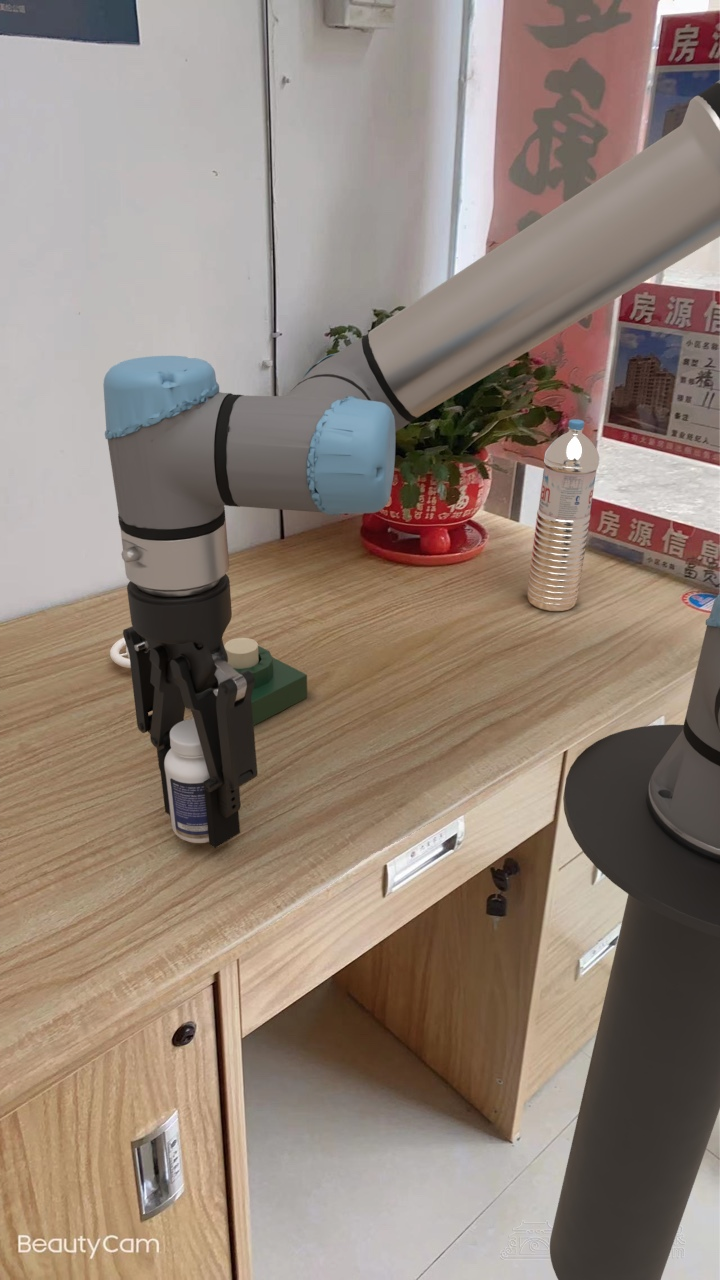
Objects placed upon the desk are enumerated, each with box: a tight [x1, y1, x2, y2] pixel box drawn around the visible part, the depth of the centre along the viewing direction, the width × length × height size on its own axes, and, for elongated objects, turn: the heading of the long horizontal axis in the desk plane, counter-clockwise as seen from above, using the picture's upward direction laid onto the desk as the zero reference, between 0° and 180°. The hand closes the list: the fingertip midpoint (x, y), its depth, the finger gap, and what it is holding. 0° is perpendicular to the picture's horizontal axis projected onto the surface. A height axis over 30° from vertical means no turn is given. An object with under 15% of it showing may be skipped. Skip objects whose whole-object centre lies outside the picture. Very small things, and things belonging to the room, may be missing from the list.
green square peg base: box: [196, 645, 308, 727], centre depth 97 cm, size 10×10×5 cm
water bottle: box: [526, 418, 600, 612], centre depth 116 cm, size 7×7×25 cm
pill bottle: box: [164, 717, 210, 844], centre depth 74 cm, size 5×5×10 cm
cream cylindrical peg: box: [224, 637, 259, 669], centre depth 95 cm, size 4×4×2 cm
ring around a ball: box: [109, 636, 131, 669], centre depth 103 cm, size 8×6×8 cm
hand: (202, 821), depth 76 cm, fingers closed on pill bottle, 5 cm apart
